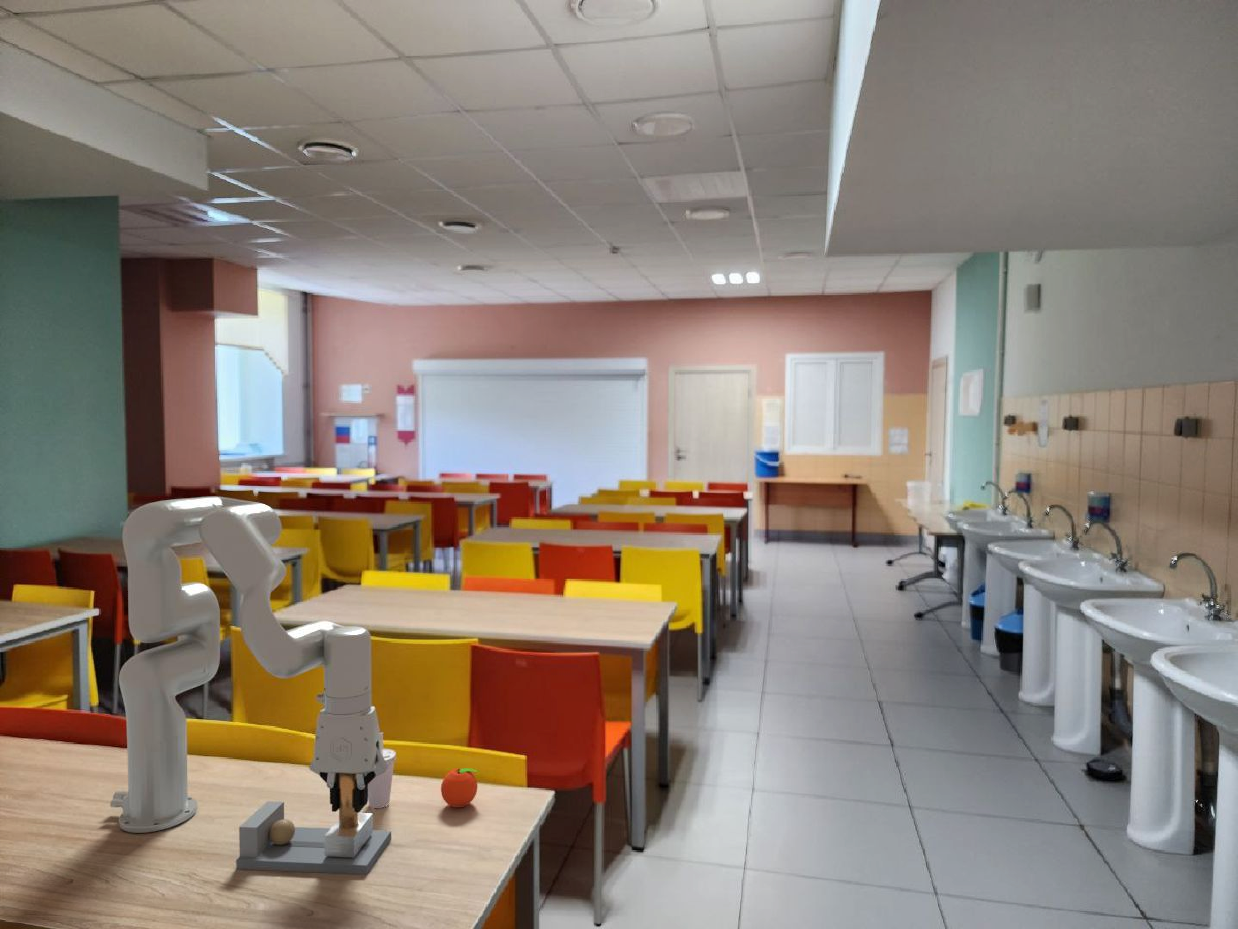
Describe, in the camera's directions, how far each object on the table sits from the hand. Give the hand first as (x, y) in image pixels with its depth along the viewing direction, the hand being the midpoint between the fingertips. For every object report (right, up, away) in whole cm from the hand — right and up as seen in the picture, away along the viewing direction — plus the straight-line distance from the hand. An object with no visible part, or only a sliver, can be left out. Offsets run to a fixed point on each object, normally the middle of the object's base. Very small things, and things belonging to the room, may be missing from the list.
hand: (349, 807), depth 131 cm
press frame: (-6, -8, +1) cm, 10 cm away
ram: (0, -6, 0) cm, 6 cm away
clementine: (+16, -8, +18) cm, 25 cm away
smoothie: (-1, -8, +18) cm, 20 cm away
